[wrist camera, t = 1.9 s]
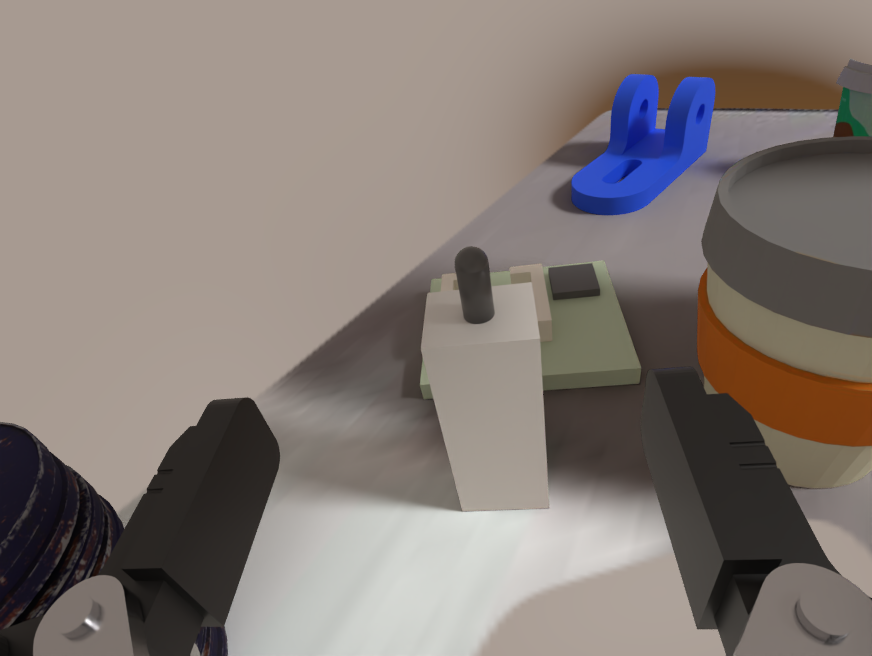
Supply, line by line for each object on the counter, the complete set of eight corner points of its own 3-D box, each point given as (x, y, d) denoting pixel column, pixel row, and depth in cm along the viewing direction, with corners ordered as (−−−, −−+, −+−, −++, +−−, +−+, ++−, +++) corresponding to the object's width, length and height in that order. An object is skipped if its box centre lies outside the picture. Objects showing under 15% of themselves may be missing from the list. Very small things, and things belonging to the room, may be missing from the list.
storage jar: (268, 660, 26) (92, 494, 16) (76, 893, 20) (-350, 847, 11) (168, 555, 31) (-6, 386, 22) (-3, 717, 26) (-334, 586, 16)
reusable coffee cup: (644, 364, 36) (669, 160, 27) (832, 340, 35) (928, 117, 26) (724, 532, 27) (806, 305, 17) (987, 506, 26) (1229, 247, 16)
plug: (541, 439, 33) (526, 208, 23) (549, 508, 29) (536, 269, 19) (463, 444, 34) (415, 222, 23) (462, 511, 30) (403, 284, 20)
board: (603, 274, 45) (604, 240, 43) (639, 383, 35) (643, 345, 33) (434, 292, 47) (427, 260, 45) (423, 399, 37) (414, 364, 35)
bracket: (637, 143, 65) (643, 66, 59) (705, 152, 60) (719, 68, 54) (556, 206, 56) (554, 122, 50) (628, 223, 51) (635, 132, 45)
